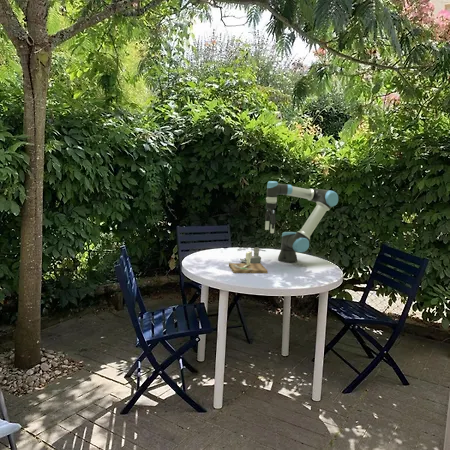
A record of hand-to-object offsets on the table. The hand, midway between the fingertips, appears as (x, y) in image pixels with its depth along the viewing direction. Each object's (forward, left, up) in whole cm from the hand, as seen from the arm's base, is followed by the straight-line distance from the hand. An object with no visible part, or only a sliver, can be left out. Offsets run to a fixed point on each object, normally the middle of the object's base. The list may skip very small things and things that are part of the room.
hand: (269, 231), depth 307 cm
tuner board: (+17, +9, -27) cm, 33 cm away
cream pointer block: (+18, +8, -24) cm, 31 cm away
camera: (+10, -10, -27) cm, 30 cm away
